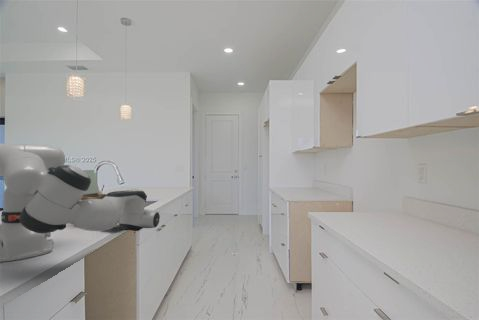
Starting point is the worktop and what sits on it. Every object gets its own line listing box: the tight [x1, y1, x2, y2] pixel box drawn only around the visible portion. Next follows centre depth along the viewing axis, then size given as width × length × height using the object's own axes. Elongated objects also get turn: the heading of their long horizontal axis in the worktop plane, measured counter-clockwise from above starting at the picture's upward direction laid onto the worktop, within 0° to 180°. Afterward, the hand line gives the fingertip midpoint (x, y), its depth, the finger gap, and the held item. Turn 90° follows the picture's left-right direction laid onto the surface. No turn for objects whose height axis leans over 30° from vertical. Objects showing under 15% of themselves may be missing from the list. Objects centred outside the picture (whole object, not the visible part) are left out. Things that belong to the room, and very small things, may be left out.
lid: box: [82, 169, 101, 196], centre depth 134 cm, size 14×15×1 cm
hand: (107, 215), depth 129 cm, fingers closed, pressing on supplement box
